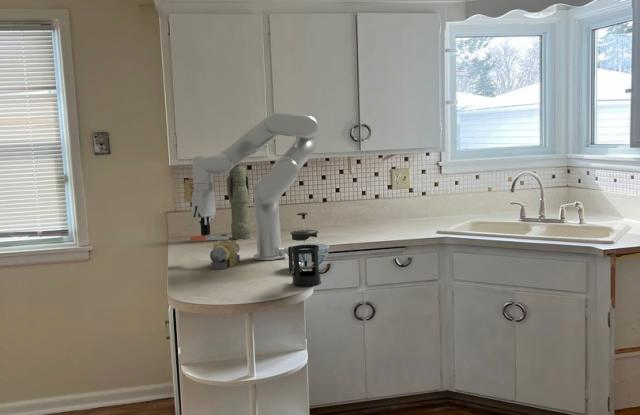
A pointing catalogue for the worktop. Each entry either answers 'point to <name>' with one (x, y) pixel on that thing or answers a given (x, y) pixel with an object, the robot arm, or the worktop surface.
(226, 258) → the ball valve
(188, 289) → the worktop surface
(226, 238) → the valve lever
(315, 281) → the french press
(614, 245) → the worktop surface
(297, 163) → the robot arm
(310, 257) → the chinaware
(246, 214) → the green piece
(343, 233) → the worktop surface
